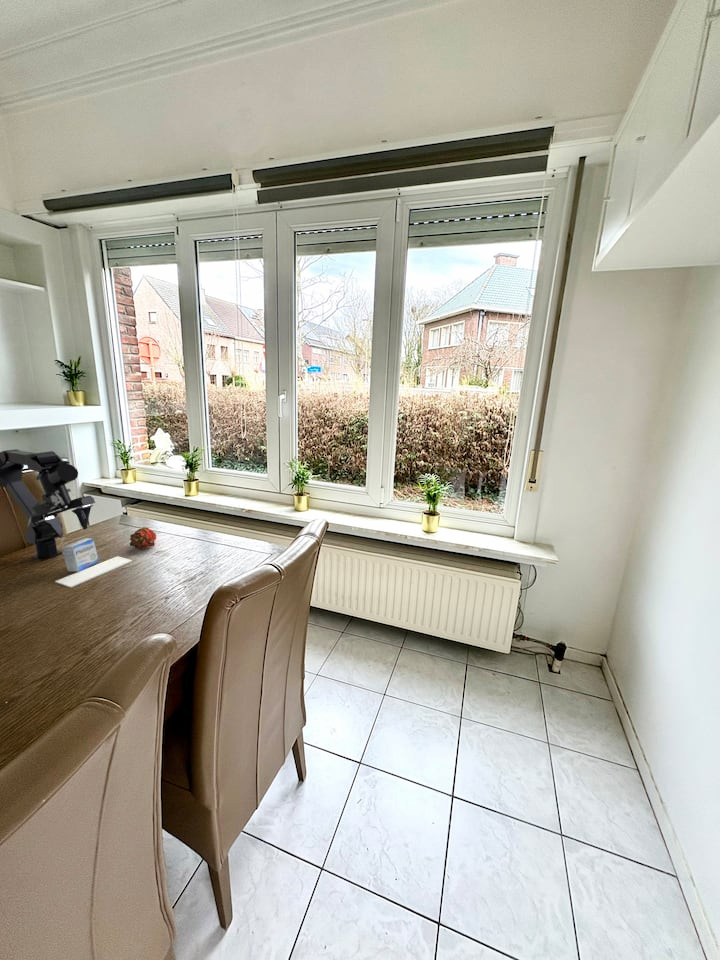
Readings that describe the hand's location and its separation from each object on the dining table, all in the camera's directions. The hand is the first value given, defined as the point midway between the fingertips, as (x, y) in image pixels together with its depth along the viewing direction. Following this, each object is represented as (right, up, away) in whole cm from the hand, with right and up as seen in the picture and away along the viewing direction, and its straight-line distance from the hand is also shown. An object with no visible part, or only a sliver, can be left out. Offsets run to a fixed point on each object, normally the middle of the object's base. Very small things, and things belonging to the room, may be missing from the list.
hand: (73, 533), depth 125 cm
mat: (+8, -12, -1) cm, 15 cm away
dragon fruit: (+13, -8, +19) cm, 24 cm away
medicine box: (+2, -12, +2) cm, 12 cm away
